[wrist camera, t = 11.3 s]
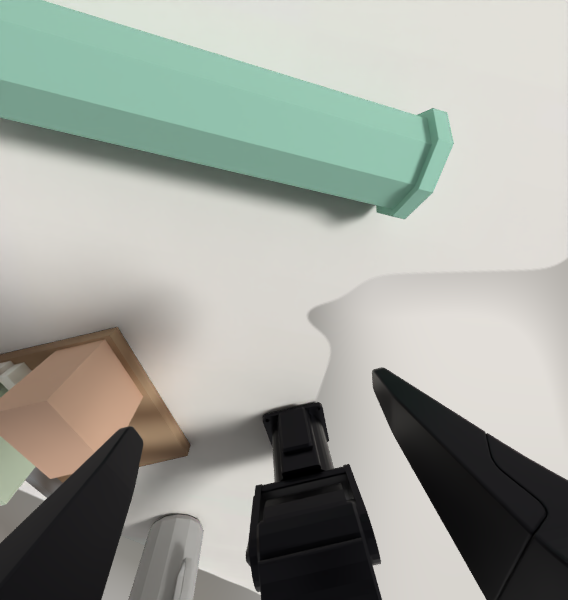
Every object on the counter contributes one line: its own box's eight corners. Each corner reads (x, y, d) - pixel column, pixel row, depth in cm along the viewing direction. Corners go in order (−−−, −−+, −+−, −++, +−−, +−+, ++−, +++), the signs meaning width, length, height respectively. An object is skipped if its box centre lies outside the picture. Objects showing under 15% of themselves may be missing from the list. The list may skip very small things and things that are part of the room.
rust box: (105, 339, 19) (46, 400, 14) (143, 396, 22) (107, 465, 17) (53, 351, 19) (-25, 417, 14) (98, 407, 22) (48, 479, 17)
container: (-215, 41, 8) (442, 203, 12) (-198, -146, 8) (464, 82, 12) (-22, 143, 14) (378, 230, 18) (-10, 37, 14) (392, 148, 18)
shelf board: (190, 444, 27) (183, 470, 25) (63, 474, 27) (45, 502, 25) (117, 327, 20) (98, 346, 18) (-54, 367, 20) (-96, 392, 18)
